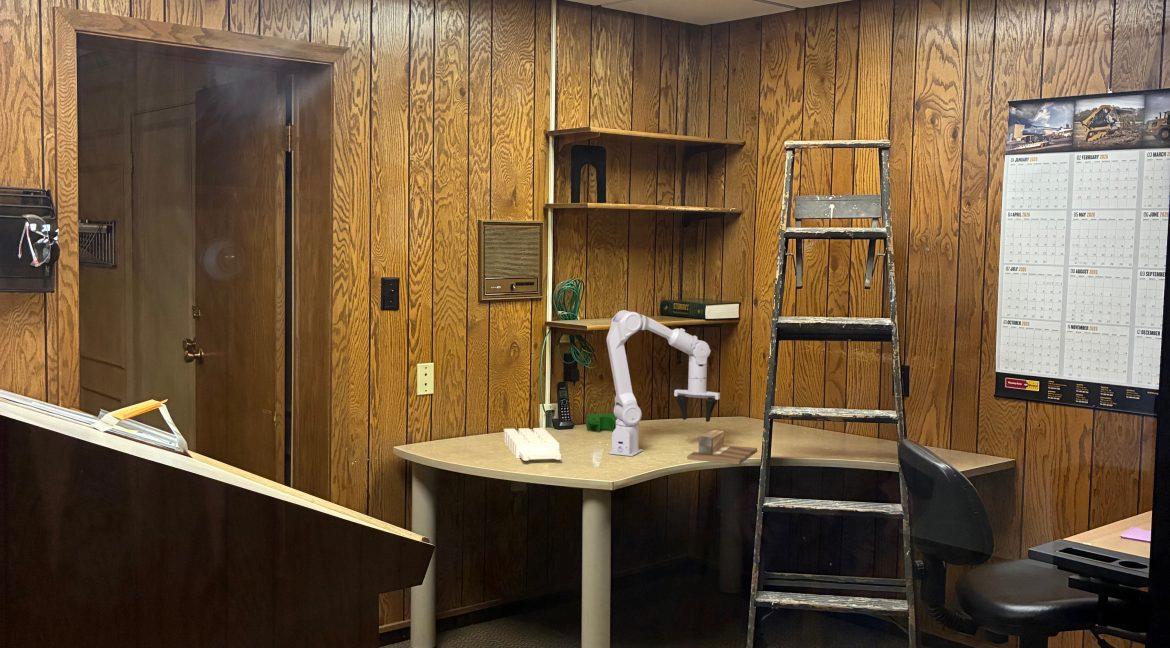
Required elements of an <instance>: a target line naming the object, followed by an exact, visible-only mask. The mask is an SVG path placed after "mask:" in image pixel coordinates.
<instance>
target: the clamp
mask: <svg viewBox="0 0 1170 648" xmlns="http://www.w3.org/2000/svg"><path fill="white" fill-rule="evenodd" d="M585 420H586V421H585V427H586V430H587V431H590V432H591V431H593V432H595V431H596V432H597V433H600V431H611V433H613V431H614V430H615V428H616V420H617V418H616V417H615V415H614V412H608V413H587V414H586V418H585Z"/></svg>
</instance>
